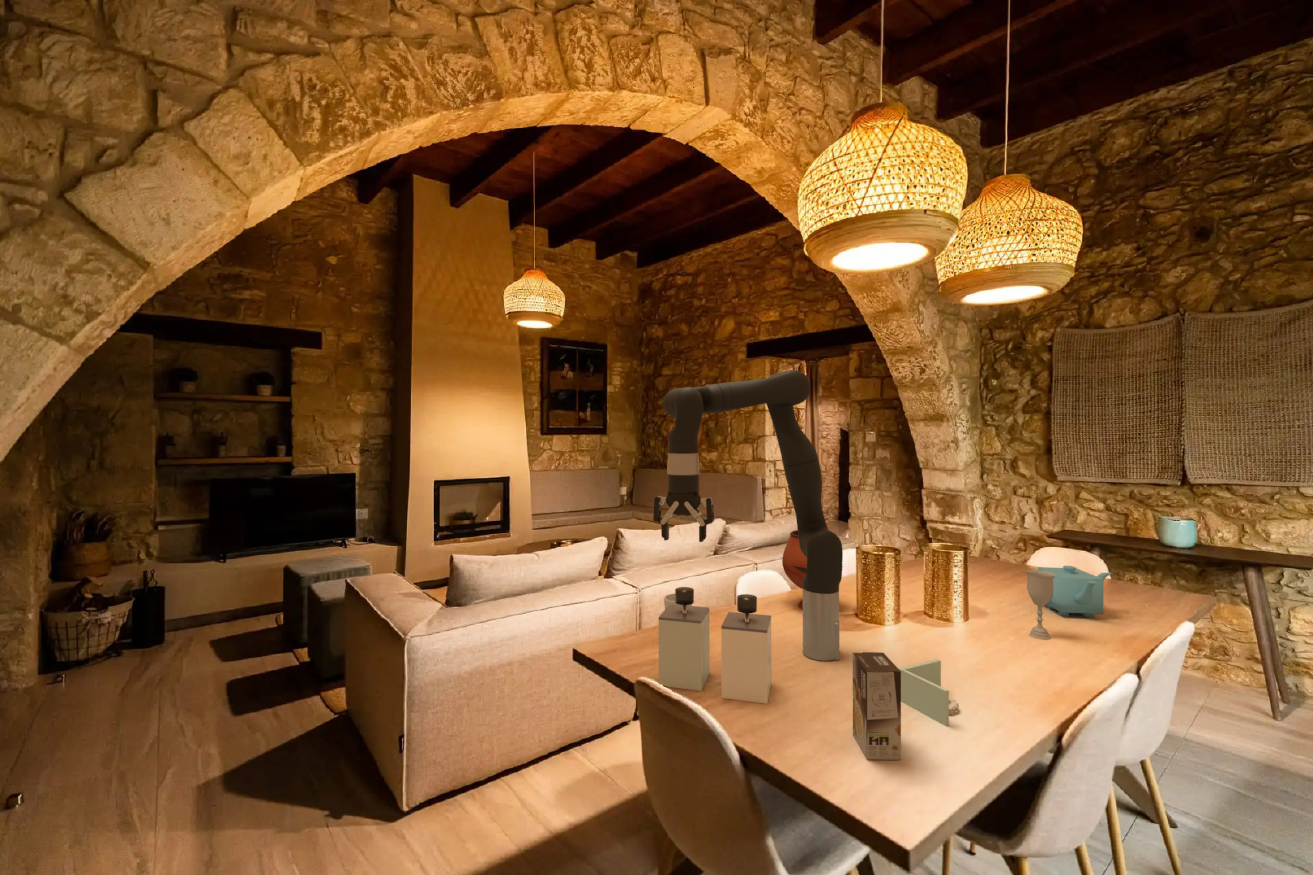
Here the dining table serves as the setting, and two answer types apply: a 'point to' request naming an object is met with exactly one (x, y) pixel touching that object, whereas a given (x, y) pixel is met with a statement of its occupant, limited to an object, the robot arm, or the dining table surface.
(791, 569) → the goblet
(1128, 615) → the dining table surface
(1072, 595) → the teakettle
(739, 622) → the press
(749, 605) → the plunger
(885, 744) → the coffee box
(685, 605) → the plunger
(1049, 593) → the chalice
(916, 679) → the l-shaped corner panel
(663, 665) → the block
